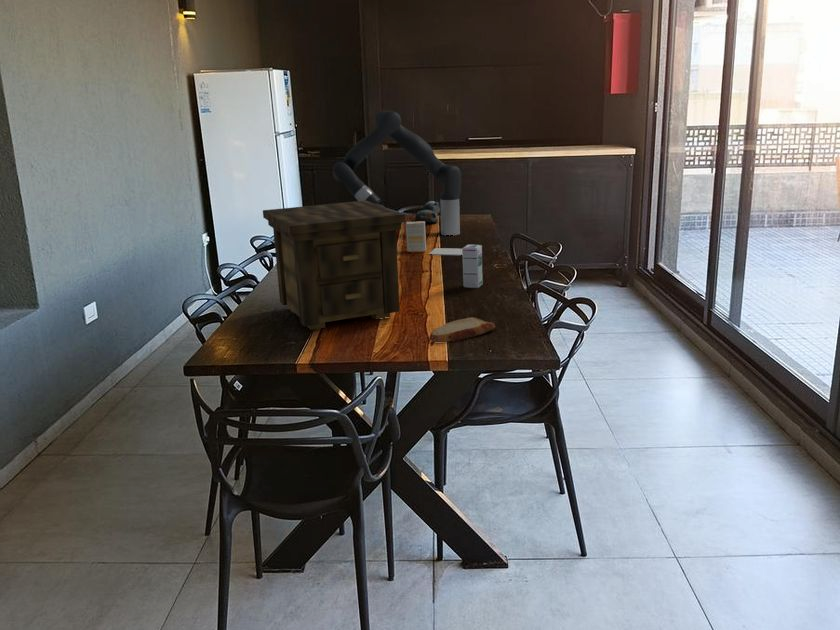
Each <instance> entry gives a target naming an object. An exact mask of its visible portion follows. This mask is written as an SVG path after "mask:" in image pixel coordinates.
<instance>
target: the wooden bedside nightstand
mask: <svg viewBox="0 0 840 630" xmlns="http://www.w3.org/2000/svg"><path fill="white" fill-rule="evenodd" d="M383 206H384V205H382V206H380V205H377V204H374V203H371V202H369V201H358V200H357V201H356V200H355V201H347V202H346V201H345V202H337V203H336V202H335V203H328V204H327V203H326V204H314V205H305V206H297V207H296V206H295V207H284V208H283V207H282V208H274V209H273V208H272V209H263V210H262V216H263V219H265V220H267V222H268V226H269V227H271V228H272V229H273V230H272V232H273V239H274V249H275V250H274V251H275V252H274V253H275V259H276V261H275V262H276V273H277V282H278V293H279V302H280V304H281V305H283V306H287V307H288V308H289V311H290V312H291V313H292V314H295V315H296V316H297V317H298V318H299V323H300V325H302V327H306V326H307V327H308V328H309V329H310V330H312V331H314V330H313V329H318V330H321V329H320V328H325V329H326V323H329V322H334V321H340V320H346V319H348V320H349V319H355V318H359V317H366V316H370V317H371V316H373V317H374V318H375V319H380V318H385V317H390V318H391V314H392V313H401V312H400V311H401V310H400V308H401V307H400V289H399V288H400V287H399V266H398V248H397V243H398V242H397V241H398V240H397V231H401V230H402V225H401V223H407V219H406V218H407V216H406V215H407V214H406V213H402V212H401V211H398V210H395V209H392V208H388V207H387V208H386V206H384V207H383ZM373 317H372V318H373ZM374 318H373V319H374ZM375 319H374V320H375ZM307 327H306V328H307ZM308 328H307V329H308ZM309 329H308V330H309ZM310 330H309V331H310Z"/></svg>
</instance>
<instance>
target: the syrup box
mask: <svg viewBox="0 0 840 630" xmlns="http://www.w3.org/2000/svg"><path fill="white" fill-rule="evenodd" d="M461 249H462V282H463V287H464V288H469V289H470V288H471V289H479V288H480V287H481V286H482V285H483V284H484V283H483V282H484V278H483V277H484V275H483V271H484V270H483V245H481V244H466V245H465V246H464V247H462V248H461Z"/></svg>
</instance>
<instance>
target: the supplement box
mask: <svg viewBox="0 0 840 630" xmlns="http://www.w3.org/2000/svg"><path fill="white" fill-rule="evenodd" d="M405 235H406V236H405V237H406V251H407V252H411V253H426V252H427V238H426V222H425V221H417V222H414V221H406V222H405Z"/></svg>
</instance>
